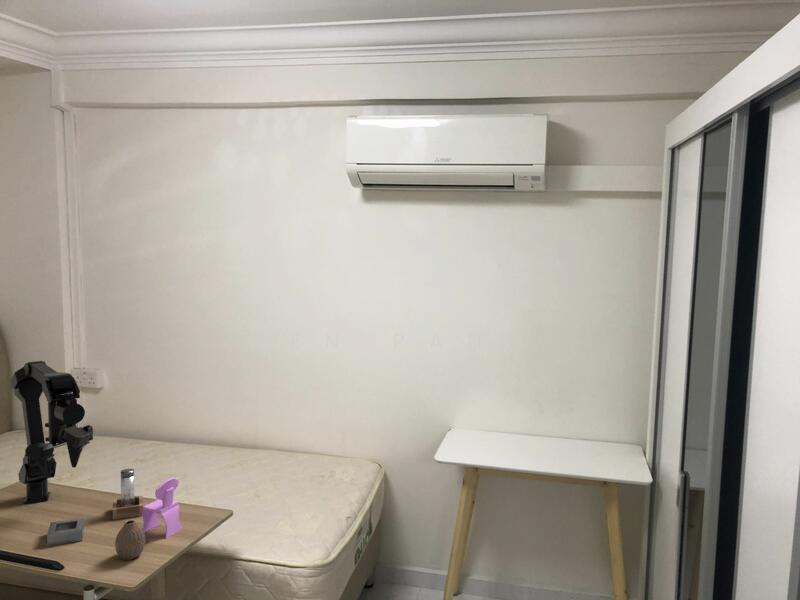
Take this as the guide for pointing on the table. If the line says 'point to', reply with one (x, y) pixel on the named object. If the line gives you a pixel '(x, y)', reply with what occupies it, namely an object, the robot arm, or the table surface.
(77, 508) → the table surface
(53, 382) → the robot arm
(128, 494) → the silver and grey cylinder
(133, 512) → the block
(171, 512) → the toy chair
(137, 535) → the vase
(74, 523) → the socket block
